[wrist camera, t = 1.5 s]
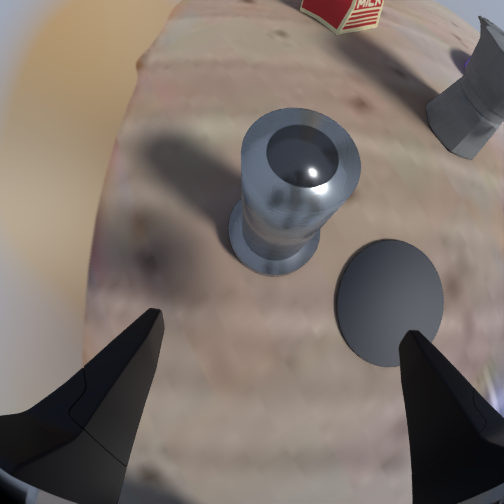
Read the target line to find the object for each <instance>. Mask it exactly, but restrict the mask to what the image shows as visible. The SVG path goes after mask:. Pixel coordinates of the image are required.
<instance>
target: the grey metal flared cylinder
mask: <svg viewBox="0 0 504 504" xmlns="http://www.w3.org/2000/svg"><path fill="white" fill-rule="evenodd" d="M360 172H361V162H360V156H359V153H358V150H357V147H356V145H355V143H354V141H353V140H352V138H351V137H350V135H349V134H348V133H347V132H346V131H345V129H344V128H342V127H341V126H340V125H339V124H338V123H337V122H335V121H334V120H332V119H331V118H329V117H327V116H325V115H323V114H321V113H318V112H316V111H312V110H308V109H303V108H284V109H279V110H275V111H272V112H270V113H268V114H265V115H264V116H262V117H261V118H259V119H258V120H257V121H255V122H254V123H253V125H252V126H251V127H250V128H249V130H248V131H247V133H246V135H245V137H244V139H243V143H242V148H241V192H242V198H241V199H240V200H239V201H238V203H237V204H236V205H235V207H234V209H233V211H232V213H231V216H230V220H229V237H230V243H231V246H232V249H233V251H234V253H235V255H236V257H237V258H238V259H239V261H240V262H241V263H242V264H243V265H244V266H245V267H247V268H248V269H250V270H251V271H253V272H255V273H258V274H260V275H264V276H271V277H275V276H283V275H287V274H290V273H292V272H294V271H296V270H297V269H299V268H300V267H302V266H303V265H304V264H305V263H307V262H308V261H309V259H310V258H311V257H312V256H313V254H314V253H315V251H316V249H317V246H318V243H319V239H320V228H321V227H322V226H323V225H324V224H325V223H326V222H327V221H328V219H329V218H330V217H331V216H332V215H333V214H334V213H335V212H336V211H337V210H338V209H339V207H340V206H341V205H342V204H343V203H344V202H345V201H346V200H347V199H348V197H349V196H350V195H351V194H352V193H353V191H354V190H355V188H356V186H357V184H358V181H359V178H360Z"/></svg>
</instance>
